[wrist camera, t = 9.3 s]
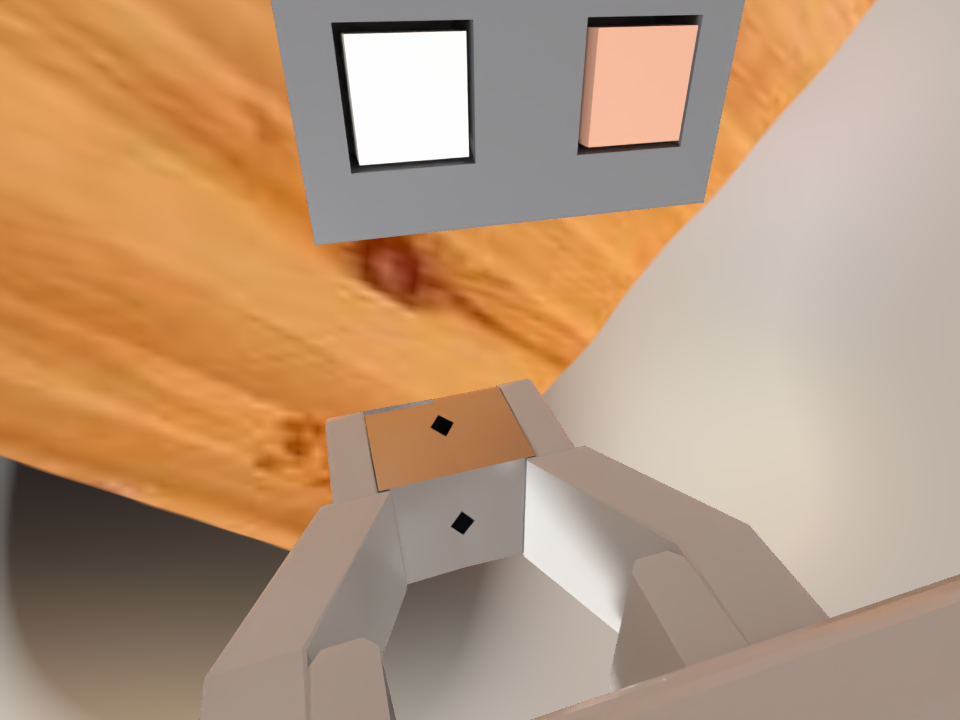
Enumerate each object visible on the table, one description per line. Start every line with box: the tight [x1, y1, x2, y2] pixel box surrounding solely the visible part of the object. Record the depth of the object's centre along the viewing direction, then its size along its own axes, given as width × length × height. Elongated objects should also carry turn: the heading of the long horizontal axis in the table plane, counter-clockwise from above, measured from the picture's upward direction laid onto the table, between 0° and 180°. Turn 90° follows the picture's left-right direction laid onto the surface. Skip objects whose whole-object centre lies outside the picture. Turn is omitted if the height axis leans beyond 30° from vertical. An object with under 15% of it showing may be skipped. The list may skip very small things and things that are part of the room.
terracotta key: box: [578, 24, 698, 147], centre depth 27 cm, size 5×5×3 cm
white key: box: [338, 29, 469, 165], centre depth 25 cm, size 5×5×3 cm
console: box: [271, 0, 745, 245], centre depth 27 cm, size 12×21×5 cm, turn 91°
